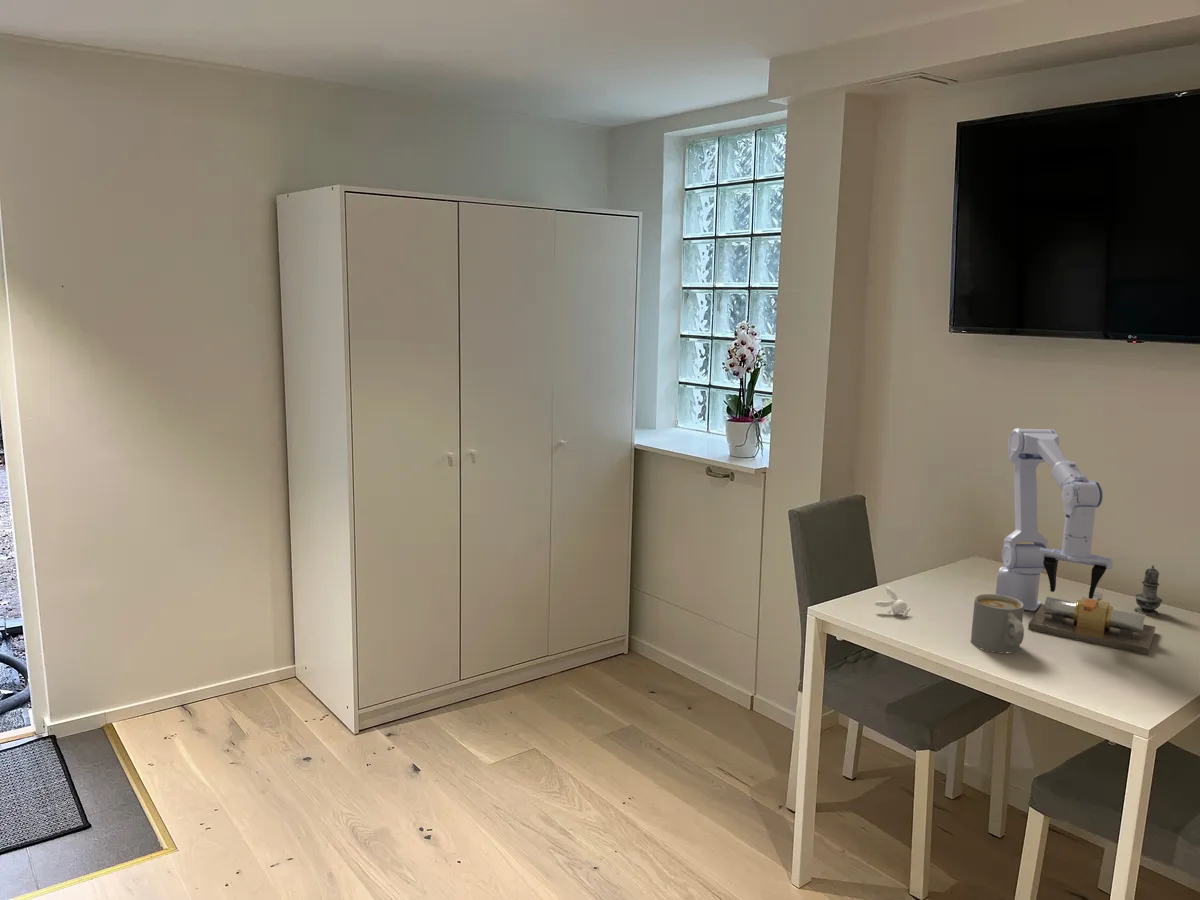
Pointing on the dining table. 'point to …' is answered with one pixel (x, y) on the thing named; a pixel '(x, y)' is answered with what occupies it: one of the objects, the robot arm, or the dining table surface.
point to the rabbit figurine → (894, 603)
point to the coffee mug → (997, 623)
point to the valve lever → (1092, 602)
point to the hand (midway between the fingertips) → (1071, 594)
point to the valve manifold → (1094, 625)
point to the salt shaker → (1149, 593)
